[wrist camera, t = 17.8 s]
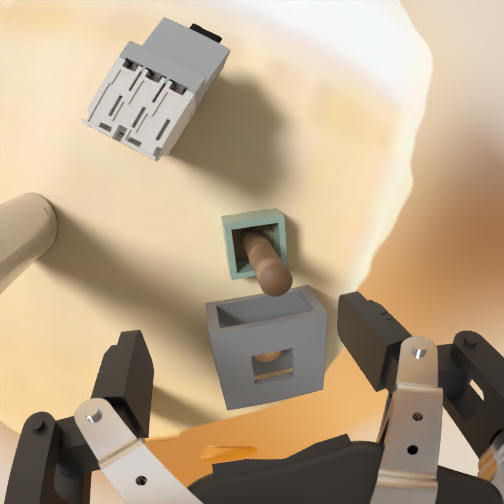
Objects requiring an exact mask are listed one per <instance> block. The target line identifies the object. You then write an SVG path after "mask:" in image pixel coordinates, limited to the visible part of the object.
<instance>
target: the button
mask: <svg viewBox="0 0 504 504" xmlns="http://www.w3.org/2000/svg"><path fill="white" fill-rule="evenodd" d="M280 354H281V351H277V352H272V353H267V354H262V355H257V356H255V358H256V359H257V360H259V361H261V362H269V361H272V360H274V359H276V358H277V357H278V356H279V355H280Z"/></svg>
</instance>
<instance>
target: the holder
mask: <svg viewBox="0 0 504 504" xmlns="http://www.w3.org/2000/svg"><path fill="white" fill-rule="evenodd" d="M221 217H222V224H223V232H224V239H225V246H226V253H227V260H228V267H229V271H230V275H231V279H232V280H235V279H241V278H247V277H252V276H256V274H255V272H254V270H253V267H252V265H251V263H250V260H249V259H247V260H241V261H235V254H234V246H233V239H232V231H231V230H233V229H239V228H246V227H252V226H259V225H266V224H272V231H273V243H274V250H275V251H276V253H277V254H278V256H279V257H280V259H281V260H282V262H283V263H284V264H285V266H286V267H287V269H288V265H287V248H286V233H285V218H284V215H283V214H282V213H281V212H280V211H278V210H277V209H270V210H263V211H255V212H248V213H241V214H235V215H228V216H221Z"/></svg>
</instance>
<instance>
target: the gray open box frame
mask: <svg viewBox="0 0 504 504" xmlns="http://www.w3.org/2000/svg"><path fill="white" fill-rule="evenodd" d="M206 312H207V323H208V334H209V339H210V343H211V347H212V352H213V356H214V360H215V364H216V368H217V372H218V376H219V380H220V384H221V388H222V392H223V396H224V400H225V403H226V407H227V410H233V409H239V408H245V407H250V406H255V405H260V404H265V403H270V402H275V401H279V400H284V399H288V398H292V397H296V396H300V395H304V394H308V393H312V392H316V391H319V390H323V383H324V382H323V381H324V369H325V354H326V335H327V310H326V309H325V308H324V306H323V305H322V303H321V302H320V301H319V299H318V298H317V297H316V295H315V294H314V293H313V291H312V290H311V289H310V287H309V286H308V285H306V286H301V287H296V288H291V289H289V290H288V291H287V292H286V293H285V294H283V295H281V296H278V297H272V296H268V295H266V294H265V293H264V294H258V295H253V296H247V297H241V298H235V299H229V300H223V301H217V302H211V303H206ZM277 351H281V354H280V355H279V356H278V357H277V358H276V359H274V360H272V361H269V362H261V361H259V360H257V359H256V358H255V356H257V355H262V354H267V353H272V352H277ZM289 368H292V373H288V374H284V375H279V376H275V377H270V378H265V379H260V380H255V381H254V376H255V375H261V374H265V373H270V372H275V371H280V370H284V369H289Z"/></svg>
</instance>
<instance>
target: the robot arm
mask: <svg viewBox="0 0 504 504" xmlns="http://www.w3.org/2000/svg"><path fill="white" fill-rule="evenodd" d="M56 234H57V219H56V215H55V212H54V210H53V208H52V206H51V205H50V204H49V202H48V201H47V200H46V199H45V198H43V197H42V196H40V195H38V194H35V193H27V194H24V195H22V196H19V197H17V198H14V199H12V200H10V201H7V202H5V203H3V204H1V205H0V294H1V293H2V292H3V291H4V290H5V289H6V288H7V287H8V286H9V285H10V284H11V283H12V282H13V281H14V280H15V279H16V278H17V277H18V276H19V275H20V274H21V273H22V272H24V271H25V270H26V269H27V268H28V267H29V266H30V265H31V264H32V263H33V262H34V261H35V260H36V259H38V258H39V257H40V256H41V255H42V254H43V253H44V252H45V251H46V250H48V249H49V248H50V247H51V246H52V244H53V243H54V240H55V238H56ZM337 330H338V335H339V337H340V339H341V341H342V343H343V344H344V345H345V347H346V348H347V350H348V351H349V353H350V354H351V356H352V357H353V359H354V360H355V362H356V363H357V364H358V366H359V367H360V369H361V370H362V372H363V373H364V374H365V376H366V378H367V379H368V381H369V382H370V383H371V385H372V387H373V388H374V390H375V391H376V392H377V391H380V390H383V389H385V388H386V389H387V390H388V391H389V393H388V396H387V401H386V405H385V410H384V414H383V419H382V423H381V427H380V432H379V435H378V438H377V441H376V442H370V441H350V439H349V437H348V435H347V434H344V435H341V436H338V437H335V438H331V439H328V440H325V441H322V442H318V443H315V444H314V445H311V446H310V447H308V448H306V449H304V450H302V451H300V452H298V453H296V454H294V455H292V456H290V457H288V458H285V459H274V460H263V459H262V460H261V459H259V460H258V459H245V460H238V461H232V462H225V463H217V464H212V467H213V473H211V474H208V475H206V476H204V477H202V478H200V479H198V480H197V481H195V482H193V483H192V484H191V485H189V486H188V487H187V488H186V487H184V486H183V485H182V484H181V483H180V482H179V481H178V480H177V479H176V478H175V477H174V476H173V475H172V474H171V473H170V472H169V471H168V470H167V469H166V468H165V467H164V466H163V465H162V464H161V463H160V461H159V460H158V459H157V458H156V457H155V456H154V455H153V454H152V453H151V452H150V451H149V450H148V448H147V447H146V446H145V445H144V444H143V443H142V442H141V440H140V439H139V438H148V437H149V422H150V409H151V398H152V387H153V377H154V368H153V362H152V359H151V356H150V354H149V351H148V348H147V346H146V343H145V340H144V338H143V335H142V333H141V331H140V330H134V331H125V332H121V334H120V337H119V341H118V344H117V345H112V346H111V347H110V348H109V349H108V350H107V351H106V353H105V354H104V356H103V360H102V363H101V364H102V365H101V366H100V369H99V373H98V375H97V379H96V382H95V385H94V389H93V392H92V396H91V399H89V400H87V401H85V402H83V403H82V404H81V405H80V406H79V407H78V408H77V409H76V412H75V416H72V417H68V418H65V419H61V420H57V421H56V420H55V419H54V418H53V417H52V415H51V414H49V413H47V412H37V413H35V414H33V415H31V416H30V417H29V418H28V419H27V420H26V422H25V423H24V426H23V429H22V432H21V436H20V439H19V443H18V446H17V449H16V453H15V457H14V460H13V465H12V468H11V473H10V477H9V481H8V486H7V491H6V496H5V502H4V504H90V488H91V474H92V471H95V470H99V469H101V470H102V471H103V473H104V474H105V476H106V477H107V479H108V480H109V482H110V483H111V484H112V486H113V487H114V489H115V490H116V491H117V492H118V494H119V495H120V496H121V498H122V499H123V501H124V502H125V503H126V504H504V358H503V356H501V355H500V353H499V352H497V351H496V350H495V349H494V348H493V347H492V346H491V345H490V344H489V343H488V342H487V341H486V340H485V339H484V338H483V337H482V336H481V335H479V334H478V333H476V332H472V331H461V332H459V333H457V334H456V336H455V338H454V341H453V344H447V345H438V346H436V345H435V343H434V342H432V341H431V340H429V339H427V338H424V337H420V336H415V337H413V336H412V335H411V334H410V333H409V332H407V330H406V329H405V328H404V327H403V326H402V325H401V324H400V323H399V322H398V321H397V320H396V319H394V318H393V316H392V315H391V314H389V313H388V311H387V310H386V309H385V308H384V307H383V306H382V305H380V304H378V303H376V302H374V301H372V300H369V301H367V300H366V299H365V298H364V297H363V296H362V295H361V294H360V293H359V292H358V291H356V292H352V293H347V294H343V295H340V297H339V303H338V321H337ZM472 379H473V381H474V382H475V383H476V384H477V385H478V386H479V388H480V389H481V390H482V391H483V395H484V401H483V400H482V399H481V397H480V396H479V395H478V394H477V392H476V391H475V390H474V389H473V388H472V386H471V385H470V382H471V380H472ZM443 407H444V408H445V409H446V411H447V412H448V414H449V415H450V417H451V418H452V419H453V421H454V422H455V424H456V425H457V426H458V428H459V429H460V431H461V432H462V434H463V435H464V437H465V438H466V440H467V441H468V443H469V444H470V446H471V447H472V449H473V450H474V452H475V453H476V455H477V456H478V458H479V463H478V469H479V472H478V475H477V477H476V476H472V475H468V474H465V473H462V472H458V471H455V470H452V469H448V468H445V467H443V466H440V465H438V458H439V449H440V440H441V426H442V409H443Z"/></svg>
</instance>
